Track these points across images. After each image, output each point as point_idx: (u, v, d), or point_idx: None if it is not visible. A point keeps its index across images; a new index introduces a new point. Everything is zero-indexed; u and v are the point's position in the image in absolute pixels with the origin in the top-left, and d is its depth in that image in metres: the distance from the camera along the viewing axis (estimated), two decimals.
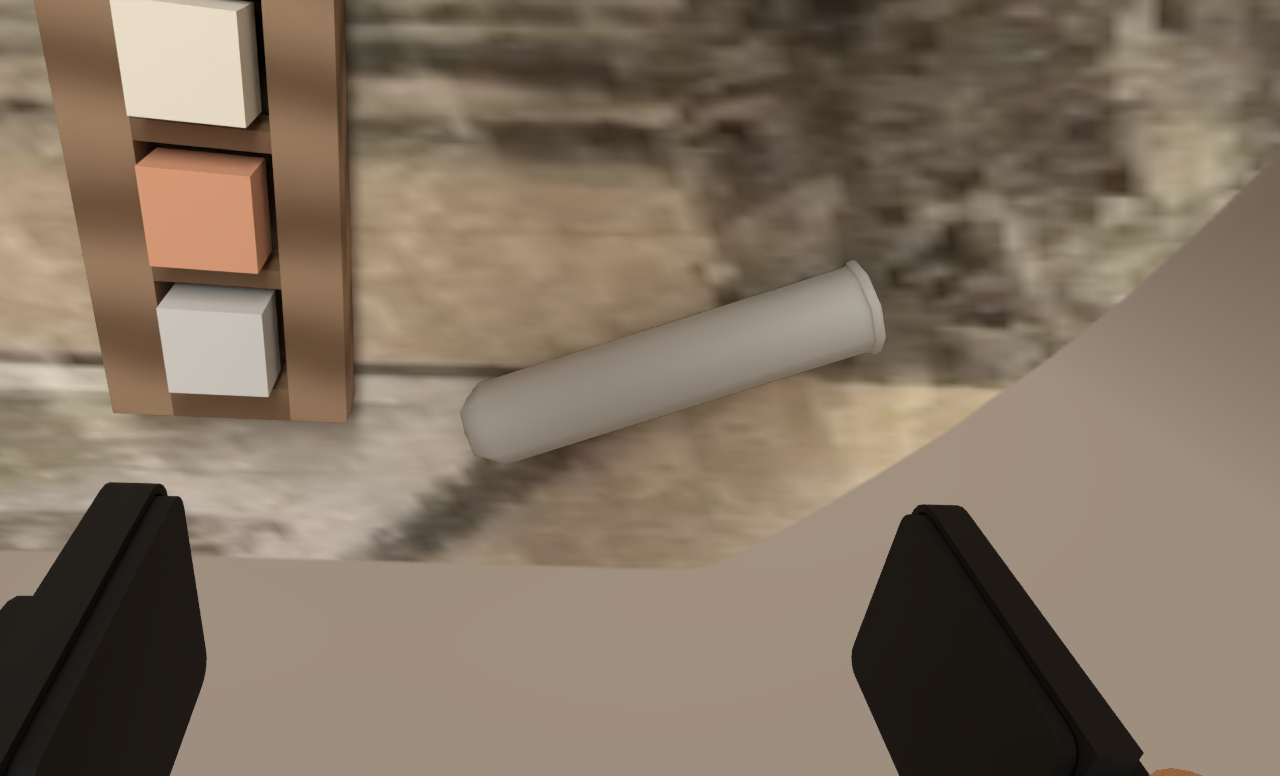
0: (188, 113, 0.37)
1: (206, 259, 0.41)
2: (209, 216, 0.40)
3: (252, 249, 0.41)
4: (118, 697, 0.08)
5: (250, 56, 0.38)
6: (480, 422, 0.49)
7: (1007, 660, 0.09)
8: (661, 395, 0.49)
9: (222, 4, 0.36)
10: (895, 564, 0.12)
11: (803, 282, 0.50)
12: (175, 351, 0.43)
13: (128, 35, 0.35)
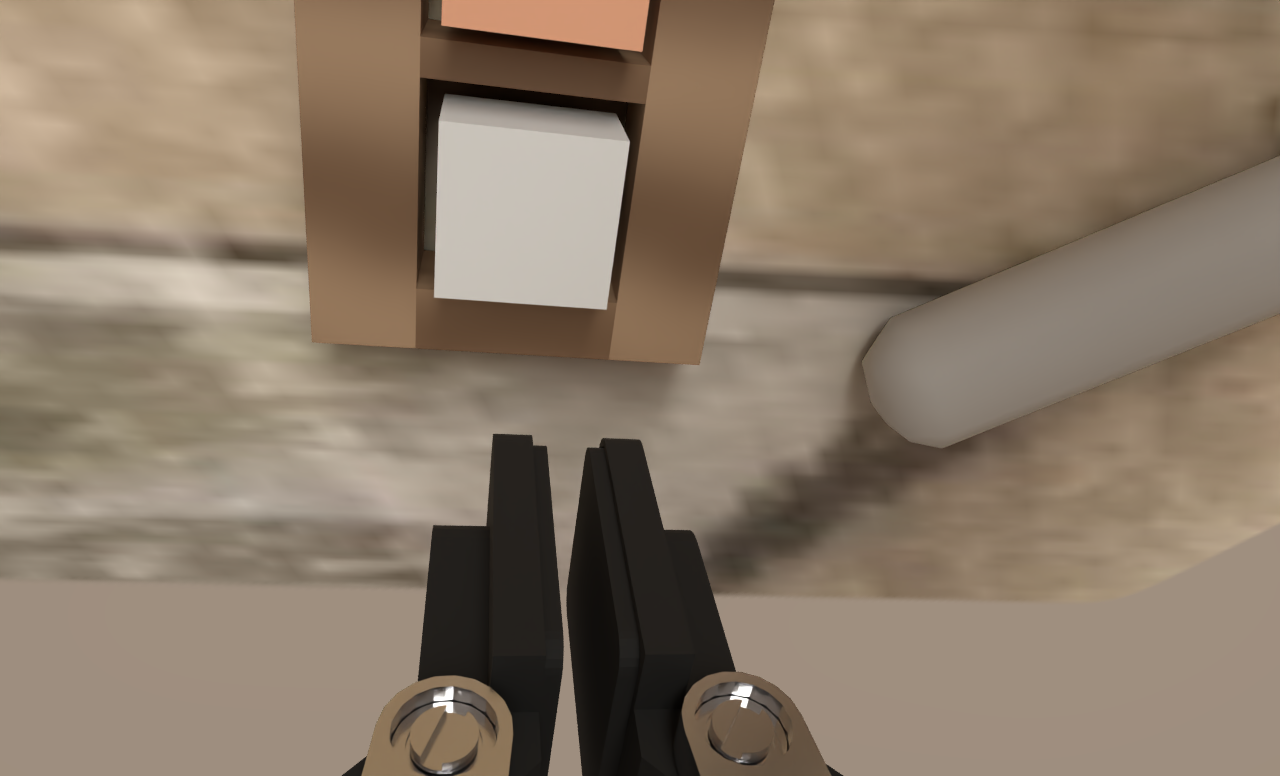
0: None
1: (551, 15, 0.20)
2: None
3: None
4: None
5: None
6: (925, 380, 0.29)
7: (611, 574, 0.09)
8: (1239, 304, 0.28)
9: None
10: (582, 498, 0.12)
11: None
12: (459, 214, 0.22)
13: None
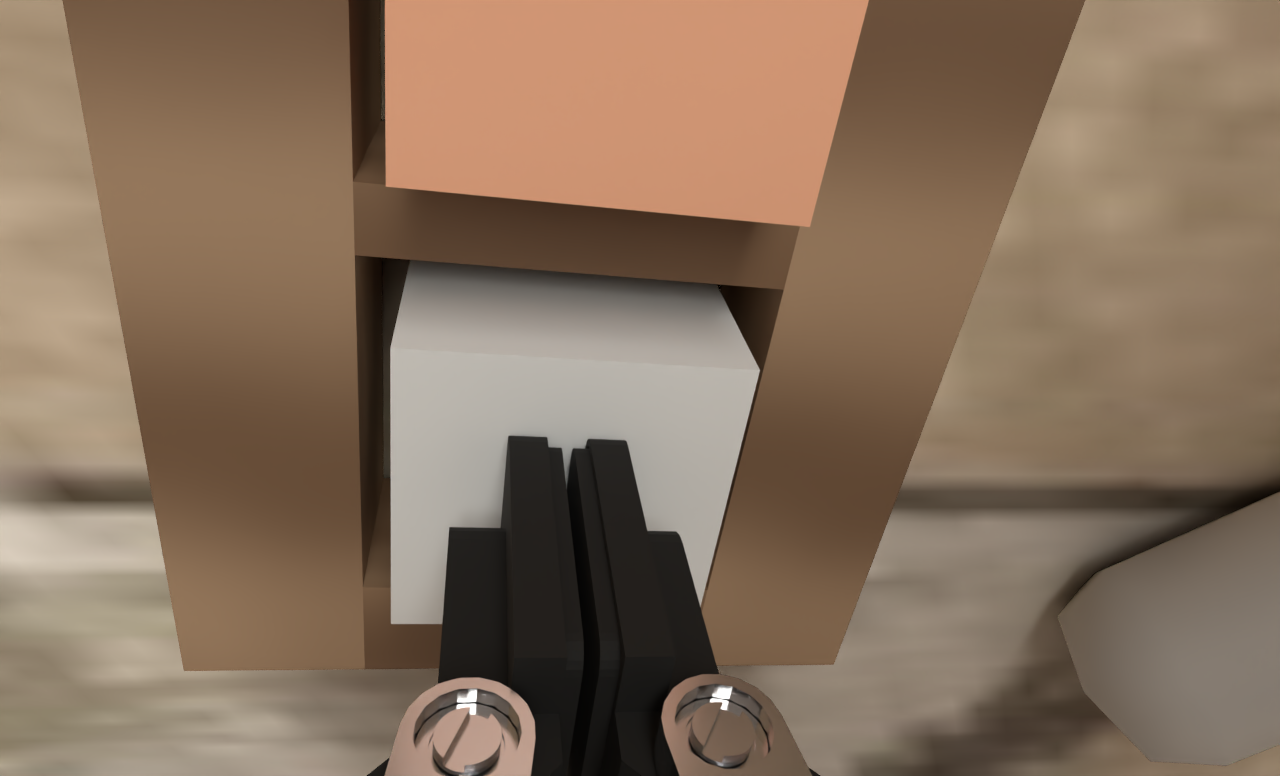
0: None
1: (624, 162, 0.09)
2: None
3: (823, 119, 0.09)
4: None
5: None
6: (1190, 695, 0.18)
7: (593, 576, 0.09)
8: None
9: None
10: (568, 499, 0.12)
11: None
12: (434, 499, 0.12)
13: None
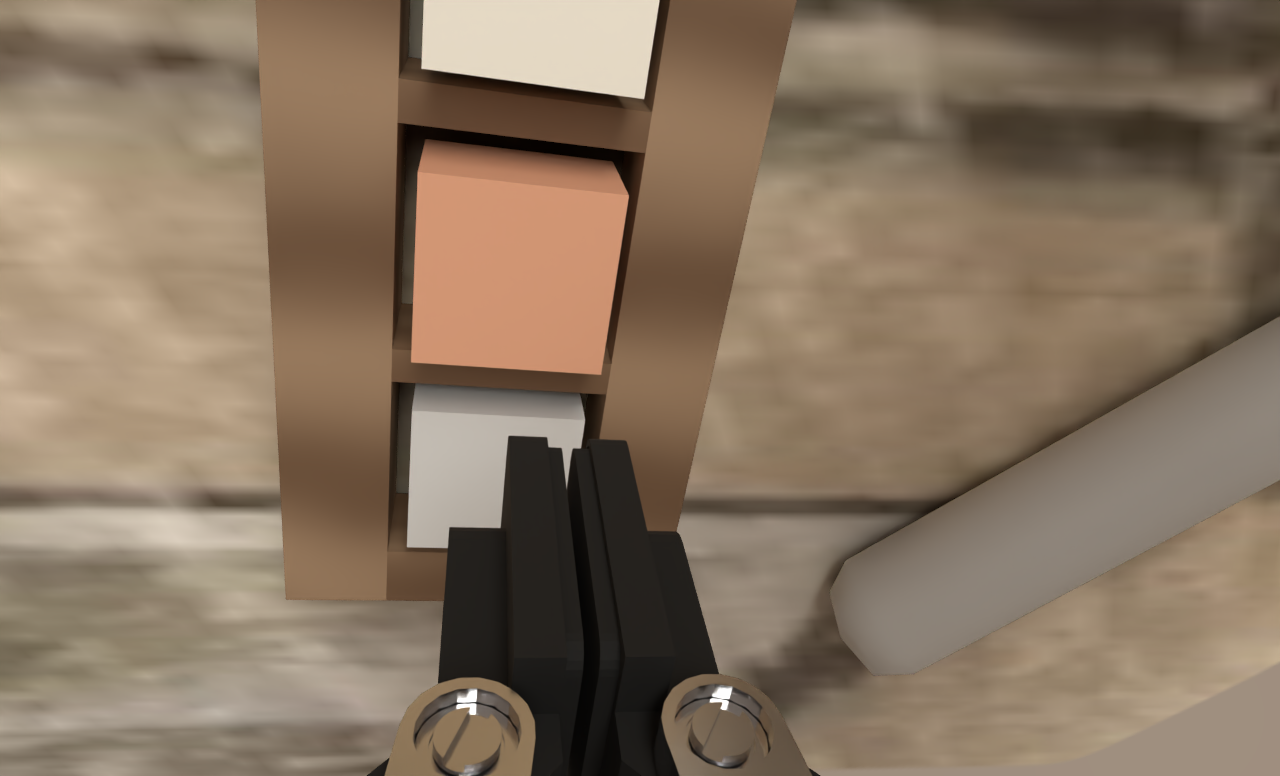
0: (542, 66, 0.18)
1: (514, 350, 0.22)
2: (538, 270, 0.21)
3: (600, 331, 0.22)
4: None
5: None
6: (880, 632, 0.30)
7: (593, 576, 0.09)
8: (1171, 524, 0.29)
9: None
10: (568, 499, 0.12)
11: None
12: (430, 481, 0.25)
13: None
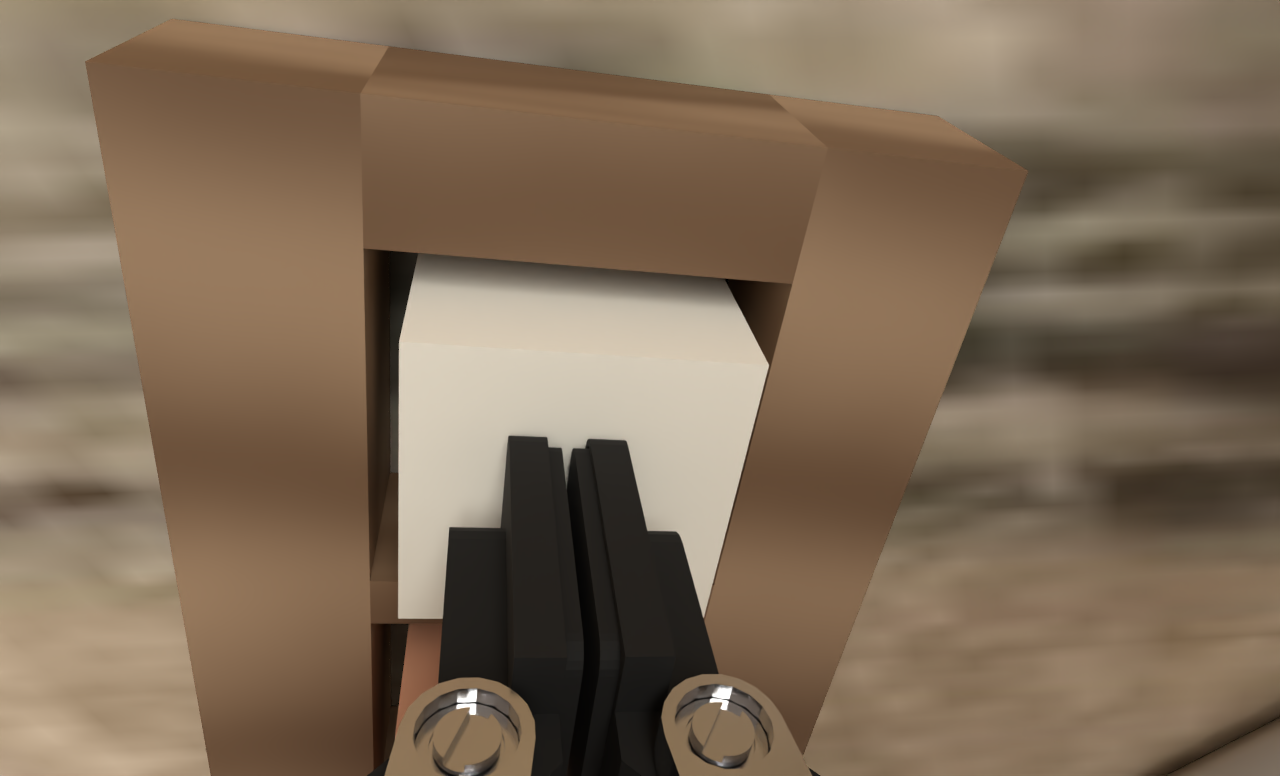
0: None
1: None
2: None
3: None
4: None
5: None
6: None
7: (593, 576, 0.09)
8: None
9: (690, 317, 0.12)
10: (568, 499, 0.12)
11: None
12: None
13: (439, 441, 0.11)
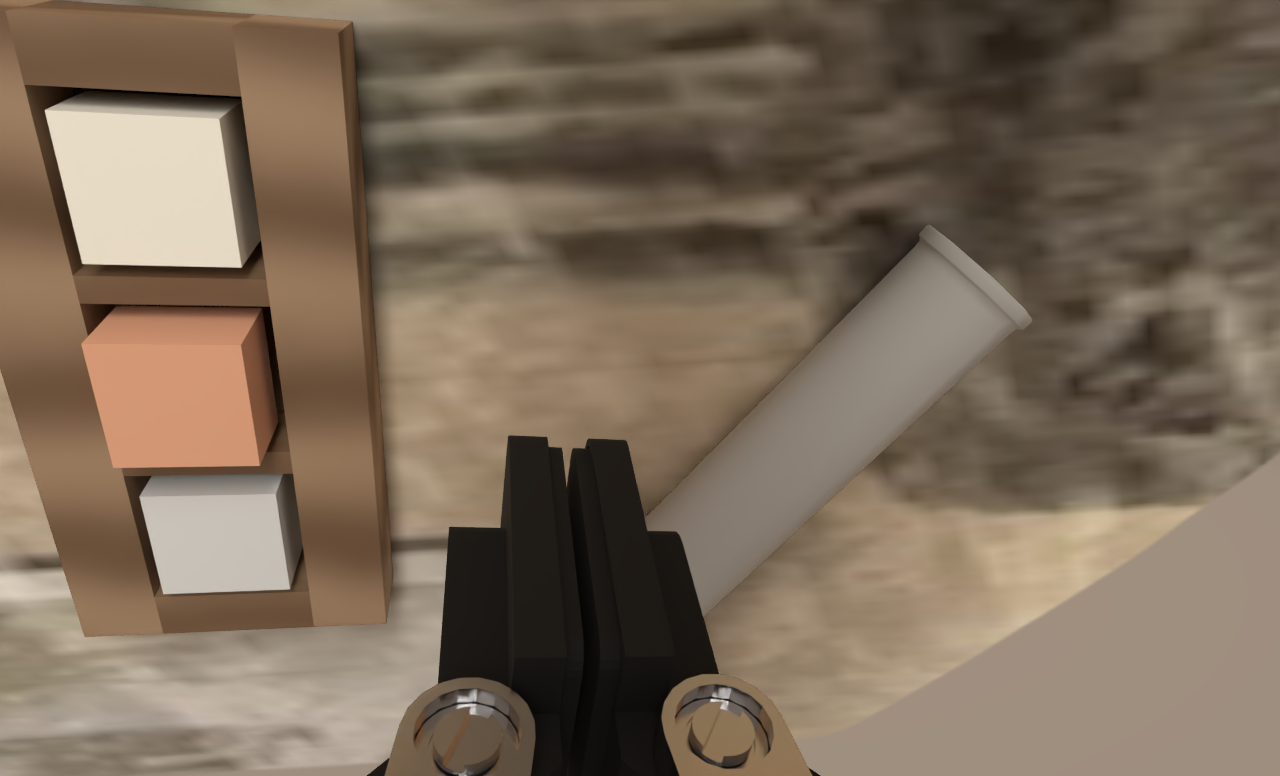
0: (164, 255, 0.28)
1: (188, 454, 0.30)
2: (189, 399, 0.29)
3: (250, 436, 0.30)
4: None
5: (243, 171, 0.28)
6: None
7: (593, 576, 0.09)
8: (769, 526, 0.36)
9: (201, 108, 0.27)
10: (568, 498, 0.12)
11: (875, 291, 0.35)
12: (168, 545, 0.33)
13: (75, 161, 0.26)
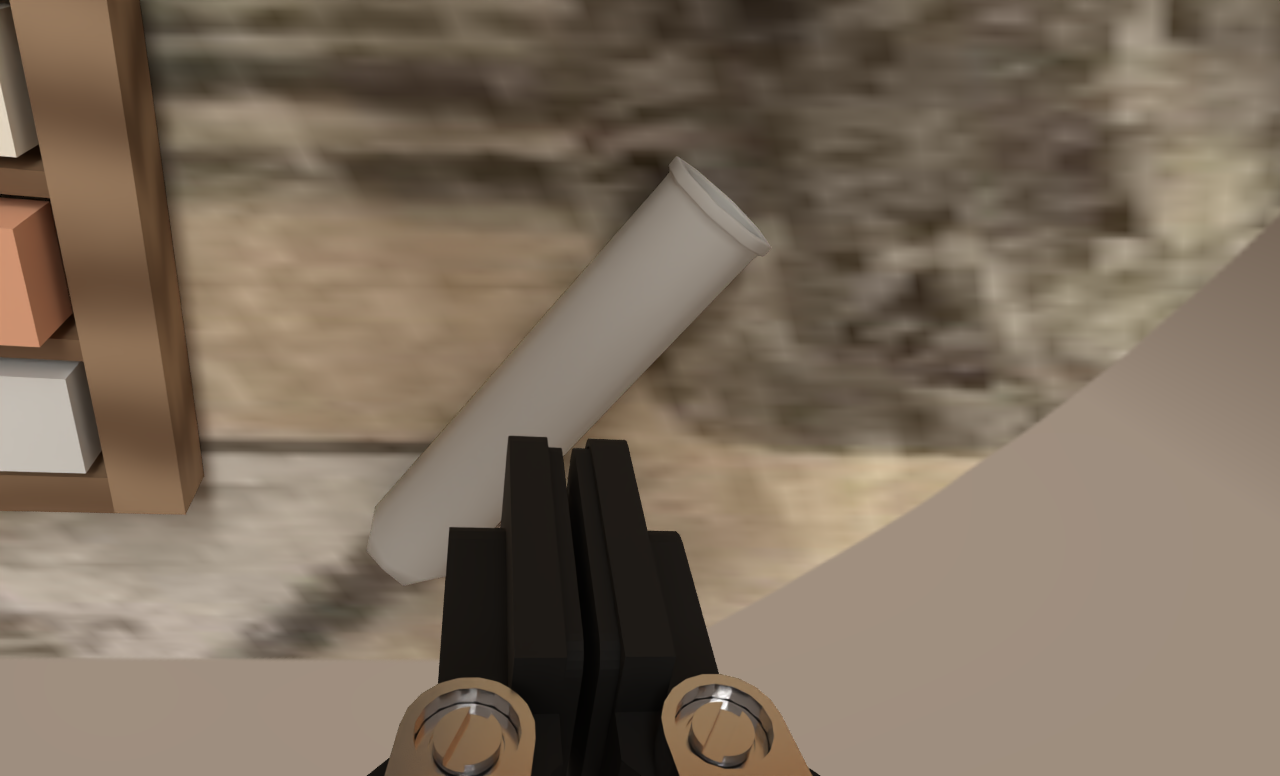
0: None
1: None
2: None
3: (28, 318, 0.32)
4: None
5: None
6: (381, 555, 0.42)
7: (593, 576, 0.09)
8: None
9: None
10: (568, 499, 0.12)
11: (631, 218, 0.37)
12: None
13: None
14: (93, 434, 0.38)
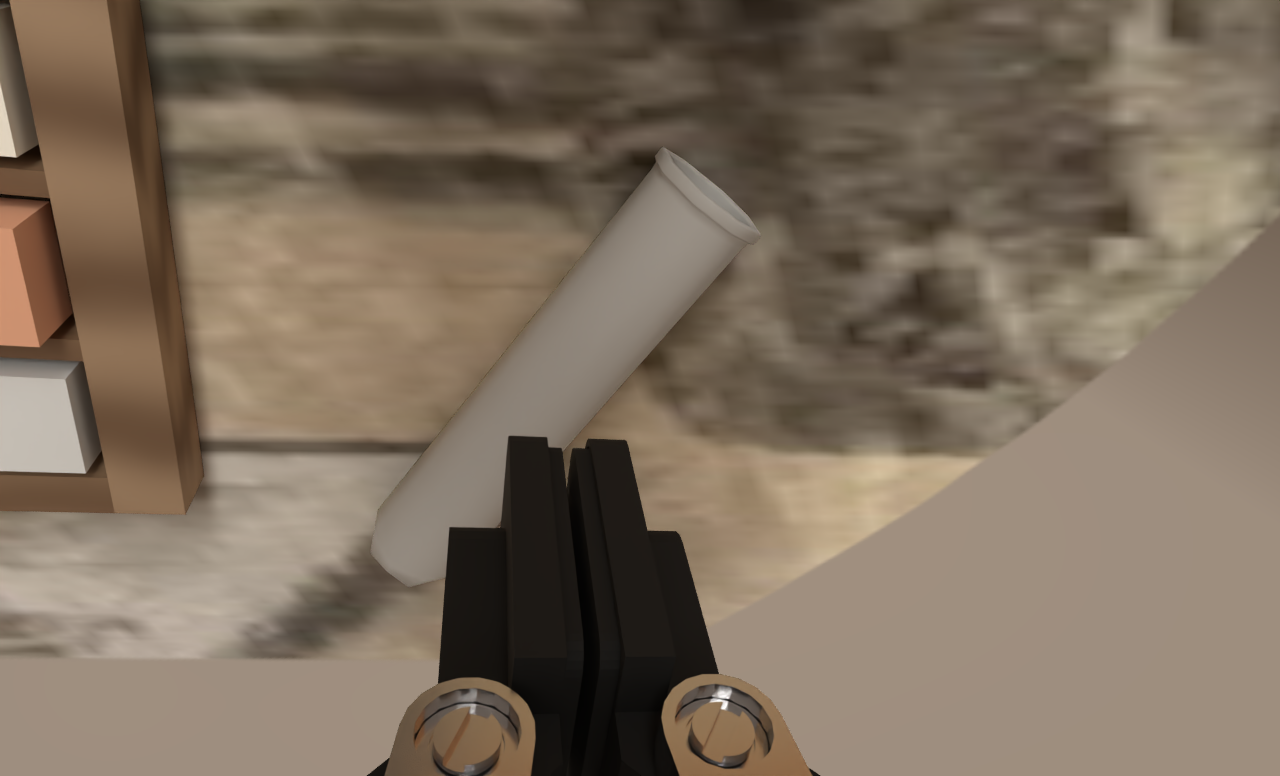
0: None
1: None
2: None
3: (27, 318, 0.32)
4: None
5: None
6: (385, 557, 0.42)
7: (593, 576, 0.09)
8: (535, 434, 0.39)
9: None
10: (568, 499, 0.12)
11: (619, 211, 0.37)
12: None
13: None
14: (93, 434, 0.38)
